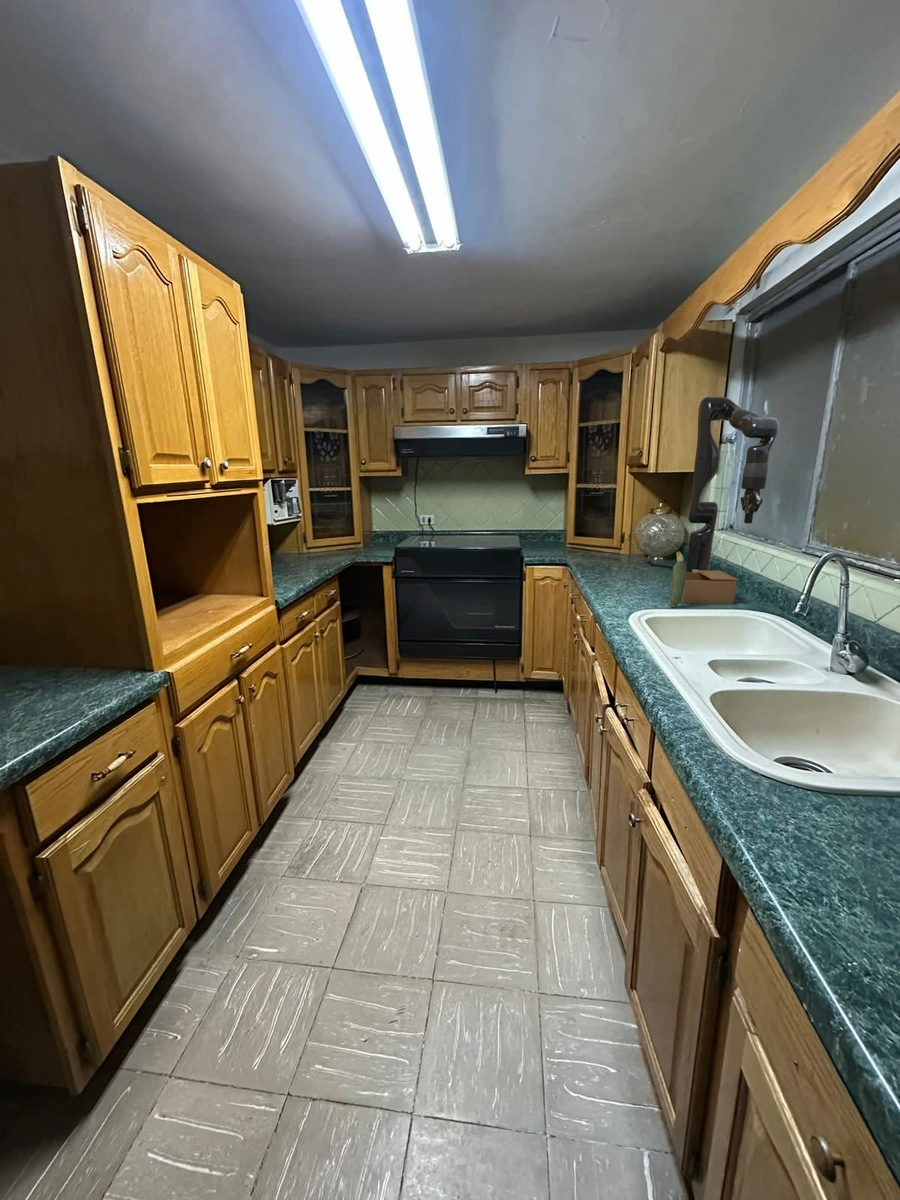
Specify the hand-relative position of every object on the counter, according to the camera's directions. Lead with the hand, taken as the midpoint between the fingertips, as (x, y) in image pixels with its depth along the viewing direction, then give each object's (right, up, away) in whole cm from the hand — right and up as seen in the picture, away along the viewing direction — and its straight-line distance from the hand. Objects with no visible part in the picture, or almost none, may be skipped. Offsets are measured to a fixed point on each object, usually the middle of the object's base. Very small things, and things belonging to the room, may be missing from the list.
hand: (747, 523), depth 181 cm
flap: (-14, -20, -3) cm, 24 cm away
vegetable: (-33, -32, -12) cm, 47 cm away
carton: (-18, -28, 0) cm, 33 cm away
